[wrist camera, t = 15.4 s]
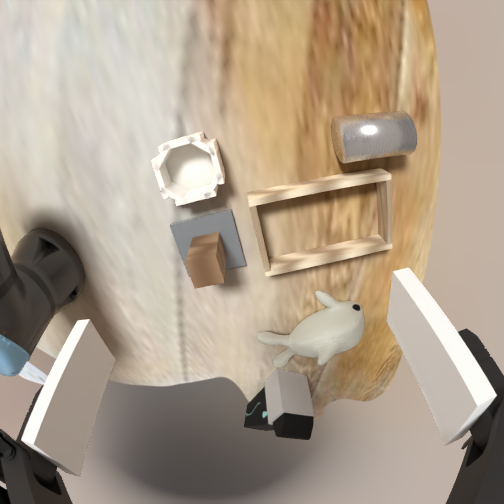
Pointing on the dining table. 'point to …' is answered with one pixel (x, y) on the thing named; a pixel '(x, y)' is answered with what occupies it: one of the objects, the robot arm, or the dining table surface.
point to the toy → (321, 332)
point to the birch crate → (335, 250)
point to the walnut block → (206, 260)
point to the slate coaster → (207, 225)
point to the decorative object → (283, 406)
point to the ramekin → (189, 168)
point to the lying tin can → (373, 136)
